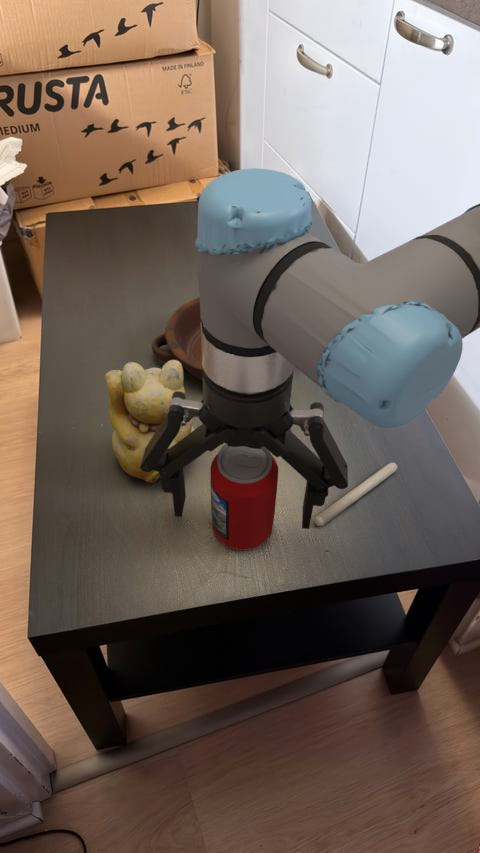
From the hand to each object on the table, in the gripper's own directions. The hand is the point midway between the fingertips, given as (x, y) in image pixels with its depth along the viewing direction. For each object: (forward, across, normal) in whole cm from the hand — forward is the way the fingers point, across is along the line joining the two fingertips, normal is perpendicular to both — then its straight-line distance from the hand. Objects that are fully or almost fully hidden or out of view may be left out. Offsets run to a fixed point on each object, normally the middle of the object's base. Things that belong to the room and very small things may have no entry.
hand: (242, 512), depth 67 cm
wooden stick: (+3, -13, -6) cm, 14 cm away
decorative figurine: (+3, +11, -8) cm, 14 cm away
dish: (+3, +4, -28) cm, 29 cm away
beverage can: (+3, 0, 0) cm, 3 cm away
